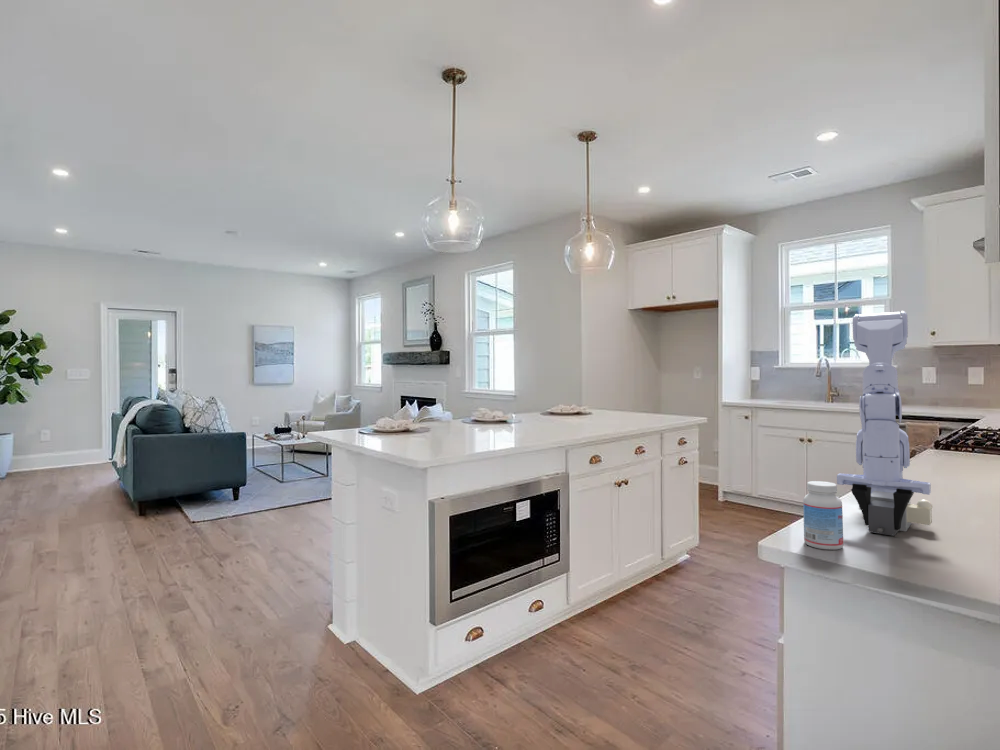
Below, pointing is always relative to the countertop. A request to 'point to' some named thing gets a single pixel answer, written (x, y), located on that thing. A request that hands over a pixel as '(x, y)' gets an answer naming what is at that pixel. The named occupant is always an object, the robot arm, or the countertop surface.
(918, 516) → the night light
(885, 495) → the socket cube
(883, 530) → the block
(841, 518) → the pill bottle
